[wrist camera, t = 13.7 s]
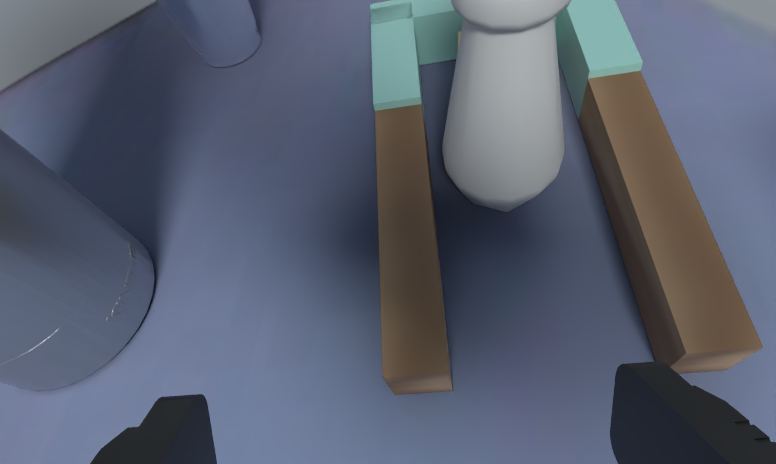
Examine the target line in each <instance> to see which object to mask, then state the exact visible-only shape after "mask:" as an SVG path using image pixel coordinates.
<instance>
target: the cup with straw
mask: <svg viewBox="0 0 776 464" xmlns="http://www.w3.org/2000/svg"><path fill="white" fill-rule="evenodd" d="M157 1H158V3H159V4H160V5H161V6H162V8H163V9H164V10H165V11H166V13H167V14H168V15H169V17H170V18H171V19H172V20H173V22H174V23H175V24H176V26H177V27H178V28H179V29H180V31H181V32H182V33H183V34H184V36H185V37H186V38H187V40H188V41H189V42H190V43H191V45H192V46H193V47H194V48H195V49H196V50H197V51H198V52H199V53H201V54H202V57H203V59H204V61H205V62H206V63H207V64H208V65H210V66H213V67H229V66H233V65H236V64H239V63H241V62H243V61H244V60H246V59H247V58H249V57H250V56H251V55H252V54H254V52H255V51H256V50H257V49H258V47H259V45H260V42H261V36H260V33H259V32H258V30H257V29H256V21H255V17H254V14H253V11H252V8H251V5H250V2H249V0H157Z"/></svg>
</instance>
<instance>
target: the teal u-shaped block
mask: <svg viewBox="0 0 776 464" xmlns="http://www.w3.org/2000/svg"><path fill="white" fill-rule="evenodd" d="M370 8H371V45H372V82H373V106H374V109H375V111H378V110H385V109H391V108H398V107H405V106H411V105H418V104H422V109H423V116H424V122H425V113H424V103H423V93H422V83H421V73H420V65H424V64H430V63H436V62H443V61H449V60H455V59H457V53H458V32H459V31H461V29H462V23H463V18H462V17H461V16H460V15H459V14H458V13H457V12H456V11H455V10H454V8H453V6H452V3H451V0H391V1H385V2H380V3H374V4H370ZM555 30H556V43H557V56H558V59H559V63H560V66H561V69H562V72H563V75H564V78H565V81H566V84H567V87H568V90H569V94H570V97H571V100H572V103H573V106H574V109H575V112H576V115H577V118H578V119H579V115H580V110H581V106H582V102H583V98H584V93H585V89H586V85H587V81H588V79H589V78H595V77H602V76H609V75H615V74H622V73H628V72H635V71H640V70H641V67H642V64H643V61H642V59H641V57H640V55H639V53H638V50H637V48H636V46H635V44H634V41H633V39H632V37H631V35H630V33H629V30H628V28H627V26H626V24H625V22H624V19H623V17H622V15H621V13H620V11H619V8H618V6H617V4H616V2H615V0H571V2H570V4H569V6H568V7H567V8H566V9H564V10H563V11H562V12H561V13H559V14H558V15H557V16H555ZM425 129H426V122H425ZM426 135H427V132H426Z"/></svg>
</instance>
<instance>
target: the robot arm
mask: <svg viewBox="0 0 776 464" xmlns="http://www.w3.org/2000/svg"><path fill="white" fill-rule="evenodd" d="M154 279H155V278H154V268H153V262H152V260H151V257H150V255H149V252H148V251H147V249H146V248H145V247H144V246H143V244H142V243H141V242H140V241H139V240H138V239H136V238H135V237H134V236H133V235H131V234H130V233H129V232H128V231H126V230H125V229H124V228H123V227H121V226H120V225H119V224H118V223H116V222H115V221H114V220H113V219H111V218H110V217H109V216H108V215H106V214H105V213H104V212H103V211H101V210H100V209H99V208H98V207H96V206H95V205H94V204H93V203H92V202H91V201H90V200H88V199H87V198H86V197H85V196H83V195H82V194H81V193H80V192H78V191H77V190H76V189H75V188H73V187H72V186H71V185H70V184H68V183H67V182H66V181H65V180H63V179H62V178H61V177H60V176H58V175H57V174H56V173H55V172H53V171H52V170H51V169H50V168H48V167H47V166H46V165H45V164H43V163H42V162H41V161H40V160H39V159H37V158H36V157H35V156H34V155H32V154H31V153H30V152H29V151H27V150H26V149H25V148H24V147H22V146H21V145H20V144H19V143H17V142H16V141H15V140H14V139H12V138H11V137H10V136H9V135H7V134H6V133H5V132H4V131H2V130H1V129H0V382H1V383H5V384H9V385H12V386H16V387H19V388H24V389H29V390H34V391H43V390H55V389H58V388H61V387H65V386H68V385H72V384H74V383H76V382H78V381H80V380H82V379H84V378H86V377H88V376H90V375H92V374H93V373H94V372H96V371H97V370H99V369H100V368H101V367H103V366H104V365H105V364H107V363H108V362H109V361H110V360H111V359H112V358H114V357H115V356H116V355H117V354H118V353H119V352H120V351H121V350H122V349H123V348H124V347H125V345H126V344H127V343H128V341H129V340H130V339H131V337H132V336H133V335H134V333H135V332H136V331H137V329H138V327H139V326H140V324H141V322H142V320H143V318H144V316H145V314H146V313H147V310H148V307H149V304H150V301H151V298H152V295H153V287H154ZM610 438H611V444H612V449H613V452H614V455H615V457H616V460H617V462H618V464H776V442H771V441H770V439H769V437H768V436H767V435H766V434H765V433H763V432H762V431H761V430H760V429H758V428H757V427H756V426H755V425H750V423H749V420H748V419H746V418H745V417H744V416H743V415H741V414H740V413H739V412H738V411H737V410H735V409H734V408H733V407H732V406H731V405H729V404H728V403H727V402H726V401H724V400H722V399H720V398H718V397H716V396H714V395H712V394H710V393H708V392H706V391H704V390H702V389H701V388H699V387H697V386H691V385H690V384H689V383H688V382H687V381H686V380H684V379H683V378H682V377H681V376H680V375H679V374H677V373H676V372H675V371H674V370H673V369H672V368H670V367H669V366H668V365H667V364H665V363H663V362H645V363H630V364H622V365H620V366H619V367H618V369H617V372H616V377H615V387H614V397H613V407H612V417H611V428H610ZM90 464H217V461H216V454H215V448H214V442H213V436H212V429H211V423H210V417H209V411H208V405H207V401H206V399H205V397H204V395H202V394H199V395H184V396H170V397H161V398H159V399H158V400H157V401H156V402H155V404H154V405H153V407H152V408H151V410H150V411H149V413H148V414H147V416H146V417H145V419H144V420H143V422H142V423H141V425H140V426H139V427H132V428H127V429H126V430H124V431H123V432H122V433H120V434H119V435H118V436H117V437H115V438H114V439H113V440H112V441H110V442H109V443H108V444H107V445H105V446H104V447H103V448H101V450H100V451H99V452H98V454H97V455H96V456H95V458H94V459H93V461H92V462H91V463H90Z"/></svg>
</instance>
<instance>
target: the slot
mask: <svg viewBox="0 0 776 464" xmlns="http://www.w3.org/2000/svg"><path fill="white" fill-rule="evenodd" d="M578 121H579V125H580V128H581V131H582V134H583V137H584V140H585V143H586V146H587V149H588V152H589V156H590V159H591V162H592V165H593V168H594V171H595V174H596V177H597V180H598V183H599V187H600V190H601V193H602V196H603V199H604V202H605V205H606V208H607V211H608V214H609V218H610V221H611V224H612V227H613V230H614V233H615V236H616V239H617V242H618V245H619V249H620V252H621V255H622V258H623V261H624V264H625V267H626V270H627V273H628V277H629V280H630V283H631V286H632V289H633V292H634V295H635V298H636V301H637V304H638V308H639V311H640V314H641V317H642V320H643V323H644V326H645V329H646V332H647V335H648V339H649V342H650V345H651V348H652V351H653V354H654V357H655V360H656V362H663V363H665V364H667V365H668V366H669V367H670V368H672V369H673V370H674V371H675V372H676V373H677V374H679V373H692V372H705V371H719V370H727V369H729V368H730V367H732V366H734V365H735V364H737V363H739V362H740V361H742V360H743V359H745V358H747V357H748V356H750V355H752V354H753V353H755V352H756V351H758V350H760V349H761V348H763V346H762V344H761V341H760V339H759V337H758V335H757V332H756V330H755V328H754V326H753V323H752V321H751V319H750V317H749V314H748V312H747V310H746V308H745V305H744V303H743V301H742V299H741V296H740V294H739V292H738V290H737V287H736V285H735V283H734V281H733V278H732V276H731V274H730V272H729V269H728V267H727V265H726V263H725V260H724V258H723V256H722V254H721V251H720V249H719V247H718V245H717V242H716V240H715V238H714V236H713V233H712V231H711V229H710V227H709V224H708V222H707V220H706V218H705V215H704V213H703V211H702V209H701V206H700V204H699V202H698V200H697V197H696V195H695V193H694V191H693V188H692V186H691V184H690V182H689V179H688V177H687V175H686V172H685V170H684V168H683V166H682V163H681V161H680V159H679V157H678V154H677V152H676V150H675V148H674V145H673V143H672V141H671V139H670V136H669V134H668V132H667V130H666V127H665V125H664V123H663V121H662V118H661V116H660V114H659V112H658V109H657V107H656V105H655V103H654V100H653V98H652V96H651V94H650V91H649V89H648V87H647V85H646V82H645V80H644V78H643V76H642V73H641V71H635V72H628V73H622V74H615V75H609V76H602V77H595V78H589V79H588V81H587V85H586V89H585V93H584V98H583V102H582V106H581V110H580V115H579V119H578ZM375 130H376V164H377V198H378V232H379V266H380V299H381V333H382V367H383V379H384V380H385V382H386V383H387V384H388V386H389V387H390V388H391V390H392V391H393V393H394V394H395V395H400V394H413V393H426V392H440V391H453V388H452V378H451V368H450V358H449V348H448V338H447V329H446V319H445V309H444V299H443V289H442V280H441V270H440V260H439V250H438V240H437V230H436V221H435V211H434V201H433V191H432V181H431V172H430V162H429V152H428V142H427V135H426V129H425V122H424V116H423V109H422V104H418V105H411V106H405V107H398V108H391V109H385V110H378V111H375Z"/></svg>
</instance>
